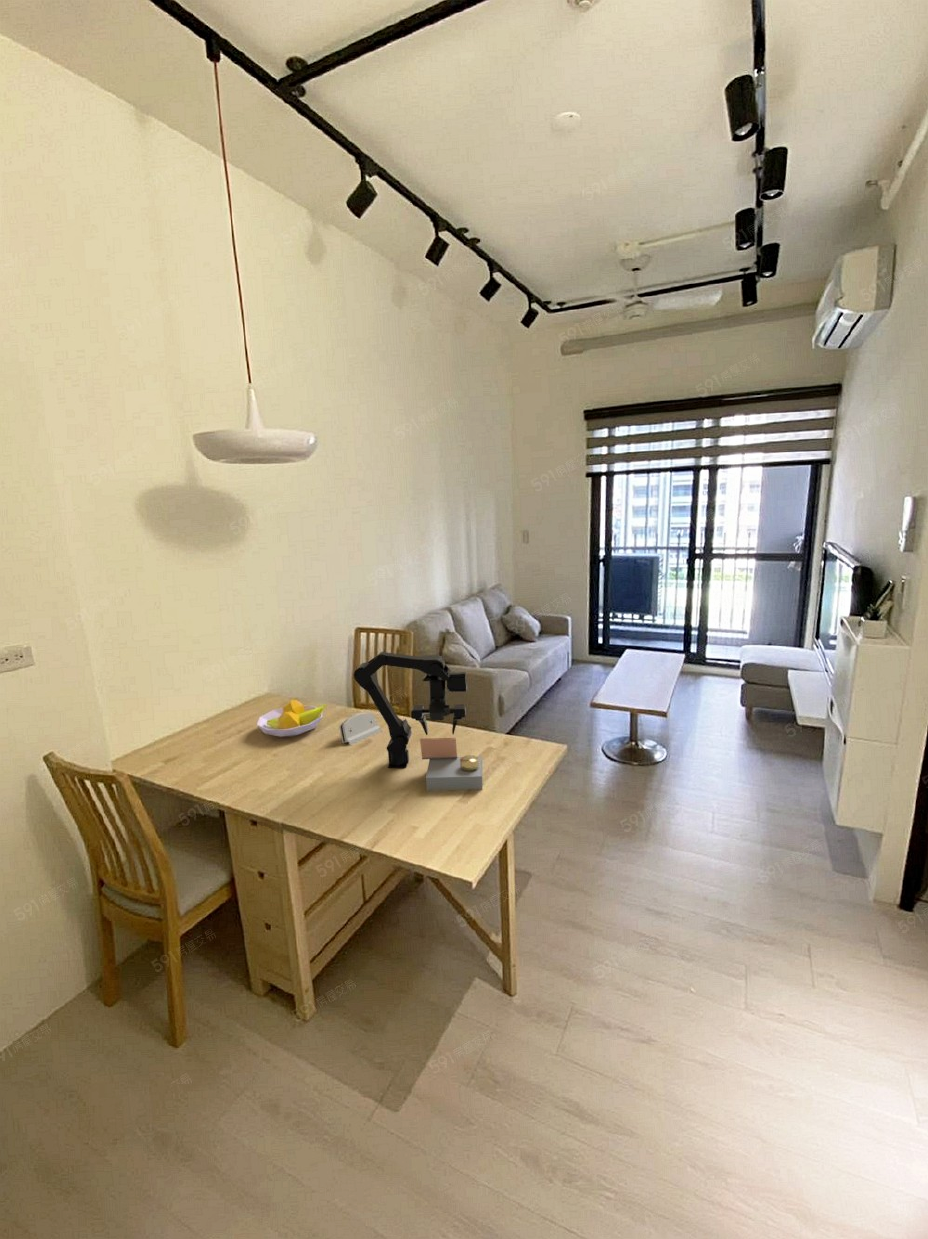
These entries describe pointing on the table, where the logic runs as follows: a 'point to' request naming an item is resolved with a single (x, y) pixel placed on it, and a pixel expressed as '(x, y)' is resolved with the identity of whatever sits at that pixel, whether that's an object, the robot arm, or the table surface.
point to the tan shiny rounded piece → (469, 763)
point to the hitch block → (452, 775)
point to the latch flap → (438, 748)
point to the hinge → (359, 728)
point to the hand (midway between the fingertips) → (440, 734)
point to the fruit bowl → (290, 719)
